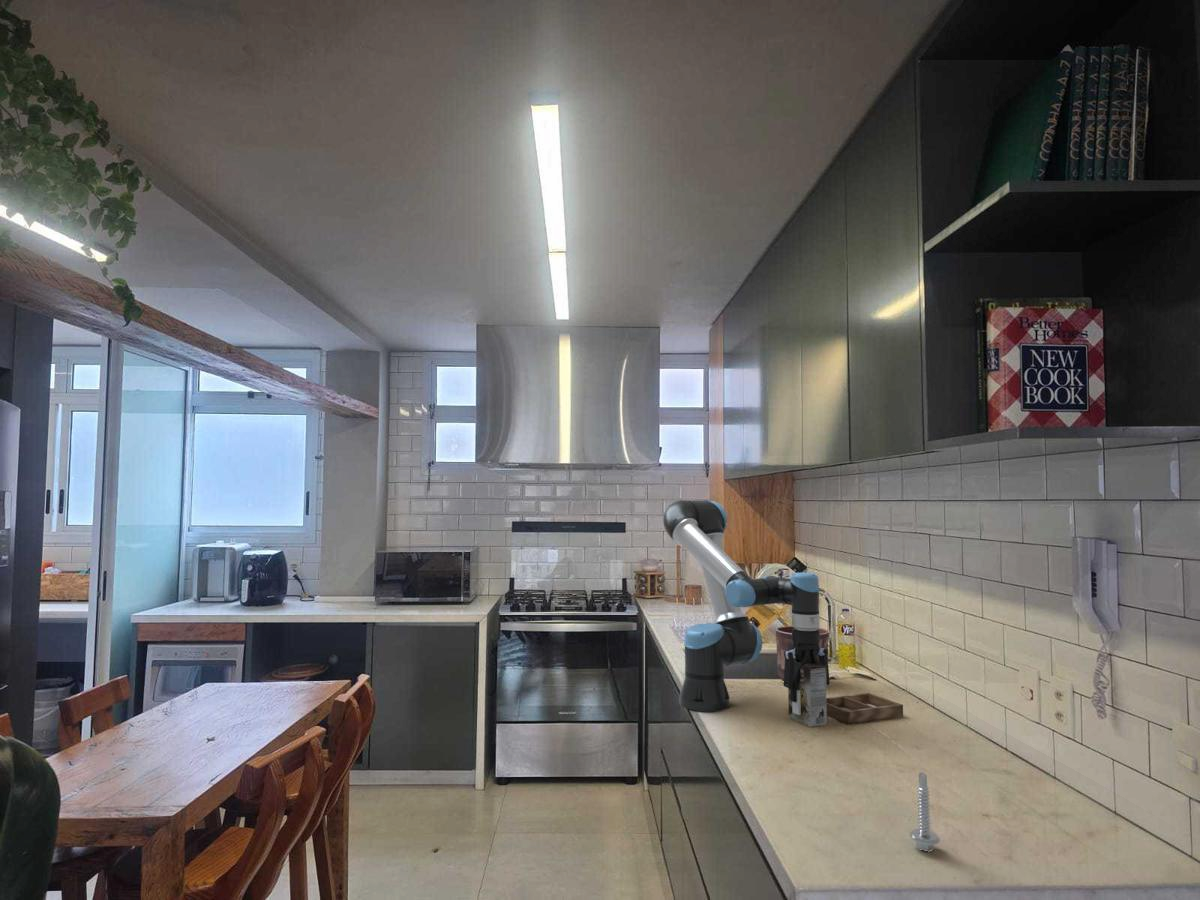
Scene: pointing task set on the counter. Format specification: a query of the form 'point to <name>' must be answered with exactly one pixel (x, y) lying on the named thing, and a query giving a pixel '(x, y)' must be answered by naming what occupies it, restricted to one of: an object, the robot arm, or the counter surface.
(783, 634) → the pottery
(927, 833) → the screw
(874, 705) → the walnut crate
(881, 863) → the counter surface
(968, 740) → the counter surface
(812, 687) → the coffee box
